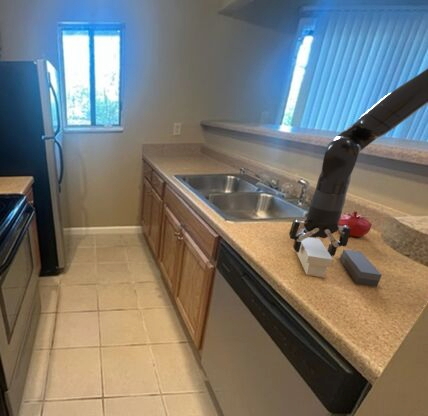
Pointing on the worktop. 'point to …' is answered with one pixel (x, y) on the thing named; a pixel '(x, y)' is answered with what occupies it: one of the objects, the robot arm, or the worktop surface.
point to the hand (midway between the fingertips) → (312, 253)
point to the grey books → (360, 268)
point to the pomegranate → (355, 224)
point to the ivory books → (312, 267)
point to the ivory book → (315, 252)
